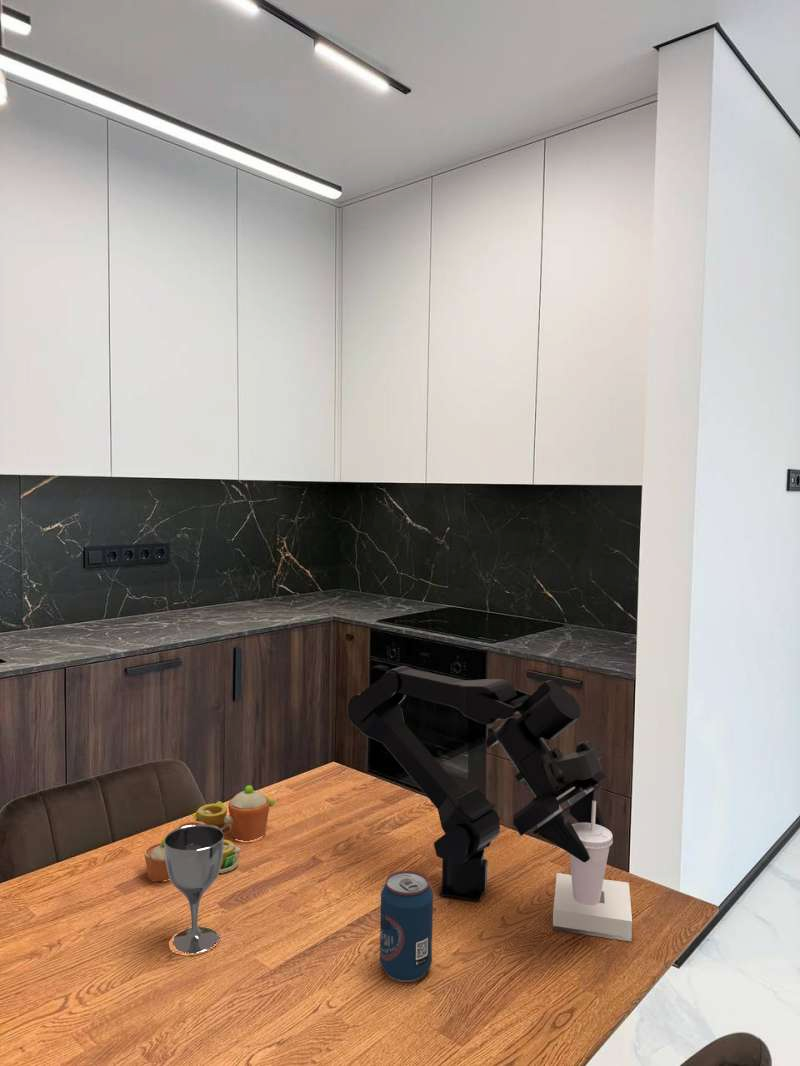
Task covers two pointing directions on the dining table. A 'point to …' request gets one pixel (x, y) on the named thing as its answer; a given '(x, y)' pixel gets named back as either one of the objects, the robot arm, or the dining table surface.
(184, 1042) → the dining table surface
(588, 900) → the smoothie
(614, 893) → the flat gift box
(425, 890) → the soda can
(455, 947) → the dining table surface
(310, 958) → the dining table surface
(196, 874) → the wine glass
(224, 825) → the toy tea set
